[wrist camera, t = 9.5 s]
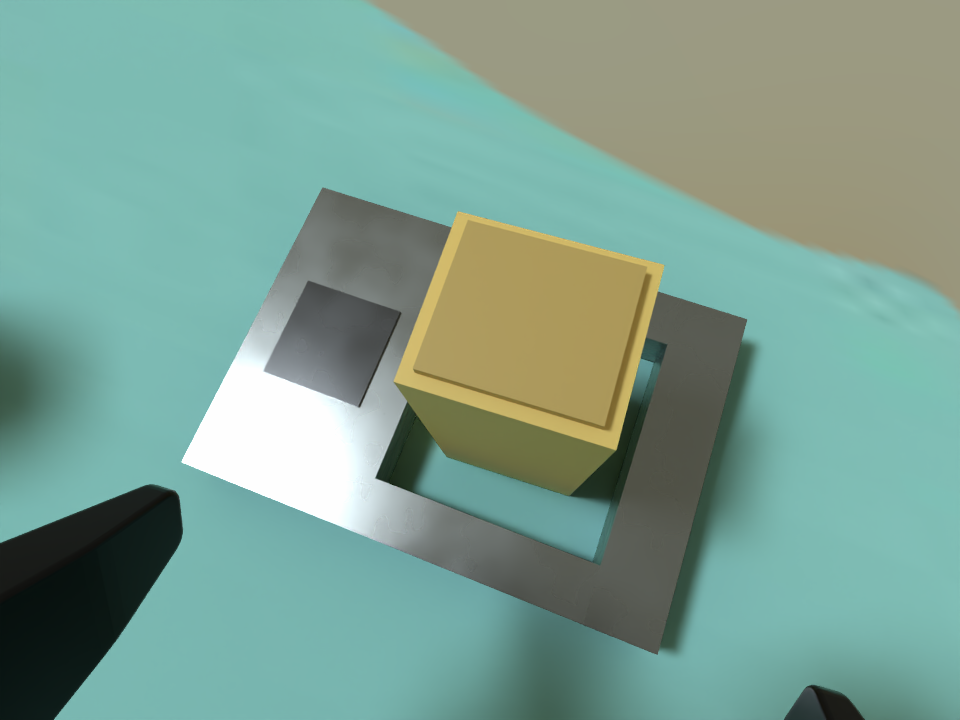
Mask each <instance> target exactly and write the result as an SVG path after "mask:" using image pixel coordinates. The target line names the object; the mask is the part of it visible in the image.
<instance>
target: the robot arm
mask: <svg viewBox="0 0 960 720" xmlns="http://www.w3.org/2000/svg"><path fill="white" fill-rule="evenodd" d="M182 534H183V526H182V517H181V508H180V499H179V495H178V494H177V493H176V491H174V490H171V489H168V488H165V487H161V486H158V485H153V484H150V485H145V486H142V487H140V488H137V489H135V490H132V491H130V492H127V493H125V494H122V495H120V496H117V497H115V498H112V499H110V500H107V501H105V502H102V503H100V504H97V505H95V506H92V507H90V508H87V509H85V510H82V511H79V512H77V513H74V514H72V515H69V516H67V517H64V518H62V519H59V520H57V521H54V522H52V523H49V524H47V525H44V526H42V527H39V528H37V529H34V530H32V531H29V532H27V533H24V534H22V535H19V536H17V537H14V538H12V539H9V540H7V541H4V542H2V543H0V720H54V719H55V717H56V716H57V715H58V714H59V712H60V711H61V710H62V709H63V707H64V706H65V705H66V704H67V702H68V701H69V700H70V699H71V697H72V696H73V695H74V694H75V692H76V691H77V690H78V689H79V687H80V686H81V685H82V684H83V682H84V681H85V680H86V679H87V677H88V676H89V675H90V674H91V672H92V671H93V670H94V669H95V667H96V666H97V665H98V663H99V662H100V661H101V660H102V658H103V657H104V656H105V655H106V653H107V652H108V651H109V649H110V648H111V647H112V645H113V644H114V643H115V642H116V640H117V639H118V637H119V636H120V634H121V633H122V632H123V630H124V629H125V627H126V626H127V624H128V623H129V621H130V620H131V618H132V617H133V615H134V614H135V612H136V611H137V609H138V608H139V606H140V604H141V603H142V601H143V600H144V598H145V597H146V595H147V594H148V592H149V591H150V589H151V588H152V586H153V585H154V583H155V582H156V580H157V579H158V577H159V575H160V574H161V572H162V571H163V569H164V568H165V566H166V565H167V563H168V562H169V560H170V559H171V557H172V556H173V554H174V553H175V551H176V550H177V548H178V546H179V544H180V542H181V539H182ZM784 720H865V719H864V718H863V716H862V715H861V714H860V712H859V711H858V710H857V708H856V707H855V706H854V704H853V703H852V702H851V701H850V700H849V699H848V698H847V697H846V696H845V695H844V694H842V693H840V692H837V691H834V690H830V689H827V688H824V687H821V686H817V685H810V686H808V687H806V688H805V689H804V691H803V692H802V693H801V695H800V696H799V698H798V699H797V701H796V702H795V704H794V705H793V707H792V708H791V710H790V711H789V713H788V714H787V715H786V717H785V719H784Z"/></svg>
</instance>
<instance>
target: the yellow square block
mask: <svg viewBox="0 0 960 720" xmlns="http://www.w3.org/2000/svg"><path fill="white" fill-rule="evenodd" d="M663 269H664V265H662V264H658V263H655V262H651V261H647V260H643V259H639V258H635V257H632V256H628V255H624V254H620V253H616V252H612V251H608V250H605V249H601V248H597V247H593V246H589V245H585V244H582V243H578V242H574V241H570V240H566V239H562V238H558V237H555V236H551V235H547V234H543V233H539V232H535V231H532V230H528V229H524V228H520V227H516V226H512V225H508V224H505V223H501V222H497V221H493V220H489V219H485V218H482V217H478V216H474V215H470V214H466V213H462V212H457V215H456V218H455V220H454V223H453V226H452V228H451V231H450V234H449V236H448V239H447V241H446V244H445V247H444V249H443V252H442V255H441V257H440V260H439V263H438V265H437V268H436V271H435V273H434V276H433V278H432V281H431V284H430V286H429V289H428V292H427V294H426V297H425V300H424V302H423V305H422V308H421V310H420V313H419V315H418V318H417V321H416V323H415V326H414V329H413V331H412V334H411V337H410V339H409V342H408V344H407V347H406V350H405V352H404V355H403V358H402V360H401V363H400V366H399V368H398V371H397V374H396V376H395V379H394V381H393V382H394V383H395V385H396V386H397V388H398V389H399V390H400V392H401V393H402V395H403V396H404V397H405V399H406V400H407V402H408V403H409V405H410V406H411V407H412V409H413V410H414V412H415V413H416V414H417V416H418V417H419V419H420V420H421V421H422V423H423V424H424V426H425V427H426V428H427V430H428V431H429V433H430V434H431V436H432V437H433V438H434V440H435V441H436V443H437V444H438V445H439V447H440V448H441V450H442V451H443V452H444V454H445V455H446V457H449V458H452V459H455V460H458V461H461V462H464V463H467V464H471V465H474V466H477V467H480V468H483V469H486V470H489V471H492V472H495V473H498V474H502V475H505V476H508V477H511V478H514V479H517V480H520V481H523V482H526V483H530V484H533V485H536V486H539V487H542V488H545V489H548V490H551V491H554V492H558V493H561V494H564V495H567V496H570V495H571V494H572V493H573V492H574V491H575V490H576V489H577V488H578V487H579V486H580V485H581V484H582V483H583V482H584V481H585V480H586V479H587V478H588V477H589V476H590V475H591V474H592V473H594V472H595V471H596V470H597V469H598V468H599V467H600V466H601V465H602V464H603V463H604V462H605V461H606V460H607V459H608V458H609V457H610V456H611V455H612V454H613V453H614V452H615V451H616V450H617V446H618V442H619V438H620V434H621V431H622V427H623V423H624V419H625V415H626V411H627V407H628V404H629V400H630V396H631V392H632V388H633V384H634V381H635V377H636V373H637V369H638V365H639V361H640V358H641V354H642V350H643V346H644V342H645V338H646V335H647V331H648V327H649V323H650V319H651V315H652V311H653V308H654V304H655V300H656V296H657V292H658V288H659V285H660V281H661V277H662V273H663Z"/></svg>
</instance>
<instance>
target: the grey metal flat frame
mask: <svg viewBox="0 0 960 720" xmlns="http://www.w3.org/2000/svg"><path fill="white" fill-rule="evenodd" d="M450 231H451V227H448V226H445V225H442V224H438V223H435V222H432V221H429V220H426V219H422V218H419V217H416V216H413V215H409V214H406V213H403V212H400V211H397V210H393V209H390V208H387V207H384V206H381V205H377V204H374V203H371V202H368V201H364V200H361V199H358V198H355V197H352V196H348V195H345V194H342V193H339V192H335V191H332V190H329V189H326V188H322V190H321V192H320V193H319V195H318V197H317V199H316V201H315V203H314V205H313V207H312V209H311V211H310V213H309V215H308V217H307V219H306V221H305V223H304V225H303V227H302V229H301V230H300V232H299V234H298V236H297V238H296V240H295V242H294V244H293V246H292V248H291V250H290V252H289V254H288V256H287V258H286V260H285V262H284V264H283V266H282V267H281V269H280V271H279V273H278V275H277V277H276V279H275V281H274V283H273V285H272V287H271V289H270V291H269V293H268V295H267V297H266V299H265V301H264V303H263V304H262V306H261V308H260V310H259V312H258V314H257V316H256V318H255V320H254V322H253V324H252V326H251V328H250V330H249V332H248V334H247V336H246V338H245V340H244V341H243V343H242V345H241V347H240V349H239V351H238V353H237V355H236V357H235V359H234V361H233V363H232V365H231V367H230V369H229V371H228V373H227V375H226V376H225V378H224V380H223V382H222V384H221V386H220V388H219V390H218V392H217V394H216V396H215V398H214V400H213V402H212V404H211V406H210V408H209V410H208V412H207V413H206V415H205V417H204V419H203V421H202V423H201V425H200V427H199V429H198V431H197V433H196V435H195V437H194V439H193V441H192V443H191V445H190V447H189V449H188V450H187V452H186V454H185V456H184V458H183V460H182V462H183V463H186V464H188V465H190V466H193V467H195V468H198V469H200V470H203V471H205V472H208V473H210V474H213V475H215V476H218V477H220V478H223V479H225V480H227V481H230V482H232V483H235V484H237V485H240V486H242V487H245V488H247V489H250V490H252V491H255V492H257V493H260V494H262V495H264V496H267V497H269V498H272V499H274V500H277V501H279V502H282V503H284V504H287V505H289V506H292V507H294V508H297V509H299V510H301V511H304V512H306V513H309V514H311V515H314V516H316V517H319V518H321V519H324V520H326V521H329V522H331V523H334V524H336V525H338V526H341V527H343V528H346V529H348V530H351V531H353V532H356V533H358V534H361V535H363V536H366V537H368V538H371V539H373V540H375V541H378V542H380V543H383V544H385V545H388V546H390V547H393V548H395V549H398V550H400V551H403V552H405V553H408V554H410V555H412V556H415V557H417V558H420V559H422V560H425V561H427V562H430V563H432V564H435V565H437V566H440V567H442V568H444V569H447V570H449V571H452V572H454V573H457V574H459V575H462V576H464V577H467V578H469V579H472V580H474V581H477V582H479V583H481V584H484V585H486V586H489V587H491V588H494V589H496V590H499V591H501V592H504V593H506V594H509V595H511V596H514V597H516V598H518V599H521V600H523V601H526V602H528V603H531V604H533V605H536V606H538V607H541V608H543V609H546V610H548V611H551V612H553V613H555V614H558V615H560V616H563V617H565V618H568V619H570V620H573V621H575V622H578V623H580V624H583V625H585V626H588V627H590V628H592V629H595V630H597V631H600V632H602V633H605V634H607V635H610V636H612V637H615V638H617V639H620V640H622V641H625V642H627V643H629V644H632V645H634V646H637V647H639V648H642V649H644V650H647V651H649V652H652V653H654V654H657V655H658V651H659V648H660V644H661V640H662V636H663V633H664V629H665V625H666V621H667V618H668V614H669V610H670V606H671V603H672V599H673V595H674V591H675V588H676V584H677V580H678V576H679V573H680V569H681V565H682V561H683V558H684V554H685V550H686V546H687V543H688V539H689V535H690V532H691V528H692V524H693V520H694V517H695V513H696V509H697V505H698V502H699V498H700V494H701V490H702V487H703V483H704V479H705V475H706V472H707V468H708V464H709V460H710V457H711V453H712V449H713V445H714V442H715V438H716V434H717V431H718V427H719V423H720V419H721V416H722V412H723V408H724V404H725V401H726V397H727V393H728V389H729V386H730V382H731V378H732V374H733V371H734V367H735V363H736V359H737V356H738V352H739V348H740V344H741V341H742V337H743V333H744V329H745V326H746V322H747V319H744V318H741V317H738V316H735V315H731V314H728V313H725V312H722V311H718V310H715V309H712V308H709V307H706V306H702V305H699V304H696V303H693V302H690V301H686V300H683V299H680V298H677V297H673V296H670V295H667V294H664V293H661V292H657V296H656V300H655V304H654V308H653V311H652V315H651V319H650V323H649V327H648V331H647V335H646V338H645V342H644V346H643V350H642V354H641V358H643V359H646V360H649V361H652V362H654V365H653V368H652V371H651V374H650V378H649V381H648V384H647V387H646V391H645V394H644V397H643V400H642V404H641V407H640V410H639V413H638V417H637V420H636V423H635V426H634V430H633V433H632V436H631V439H630V443H629V446H628V449H627V453H626V456H625V459H624V462H623V466H622V469H621V472H620V475H619V479H618V482H617V485H616V488H615V492H614V495H613V498H612V501H611V505H610V508H609V511H608V514H607V518H606V521H605V524H604V527H603V531H602V534H601V537H600V540H599V544H598V547H597V550H596V553H595V557H594V560H593V563H592V562H590V561H587V560H584V559H582V558H579V557H577V556H574V555H572V554H569V553H566V552H564V551H561V550H559V549H556V548H553V547H551V546H548V545H546V544H543V543H541V542H538V541H535V540H533V539H530V538H528V537H525V536H523V535H520V534H517V533H515V532H512V531H510V530H507V529H504V528H502V527H499V526H497V525H494V524H492V523H489V522H486V521H484V520H481V519H479V518H476V517H474V516H471V515H468V514H466V513H463V512H461V511H458V510H456V509H453V508H450V507H448V506H445V505H443V504H440V503H437V502H435V501H432V500H430V499H427V498H425V497H422V496H419V495H417V494H414V493H412V492H409V491H407V490H404V489H401V488H399V487H396V486H394V485H391V484H389V483H388V482H389V480H390V477H391V475H392V472H393V470H394V468H395V465H396V463H397V460H398V458H399V456H400V453H401V451H402V448H403V446H404V443H405V441H406V439H407V436H408V434H409V431H410V429H411V426H412V424H413V422H414V419H415V417H416V413H415V412H414V410H413V409H412V407H411V406H410V405H409V403H408V402H407V400H406V399H405V397H404V396H403V395H402V393H401V392H400V390H399V389H398V388H397V386H396V385H395V383H394V382H393V381H394V379H395V376H396V374H397V371H398V368H399V366H400V363H401V360H402V358H403V355H404V352H405V350H406V347H407V344H408V342H409V339H410V337H411V334H412V331H413V329H414V326H415V323H416V321H417V318H418V315H419V313H420V310H421V308H422V305H423V302H424V300H425V297H426V294H427V292H428V289H429V286H430V284H431V281H432V278H433V276H434V273H435V271H436V268H437V265H438V263H439V260H440V257H441V255H442V252H443V249H444V247H445V244H446V241H447V239H448V236H449V234H450Z"/></svg>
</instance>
